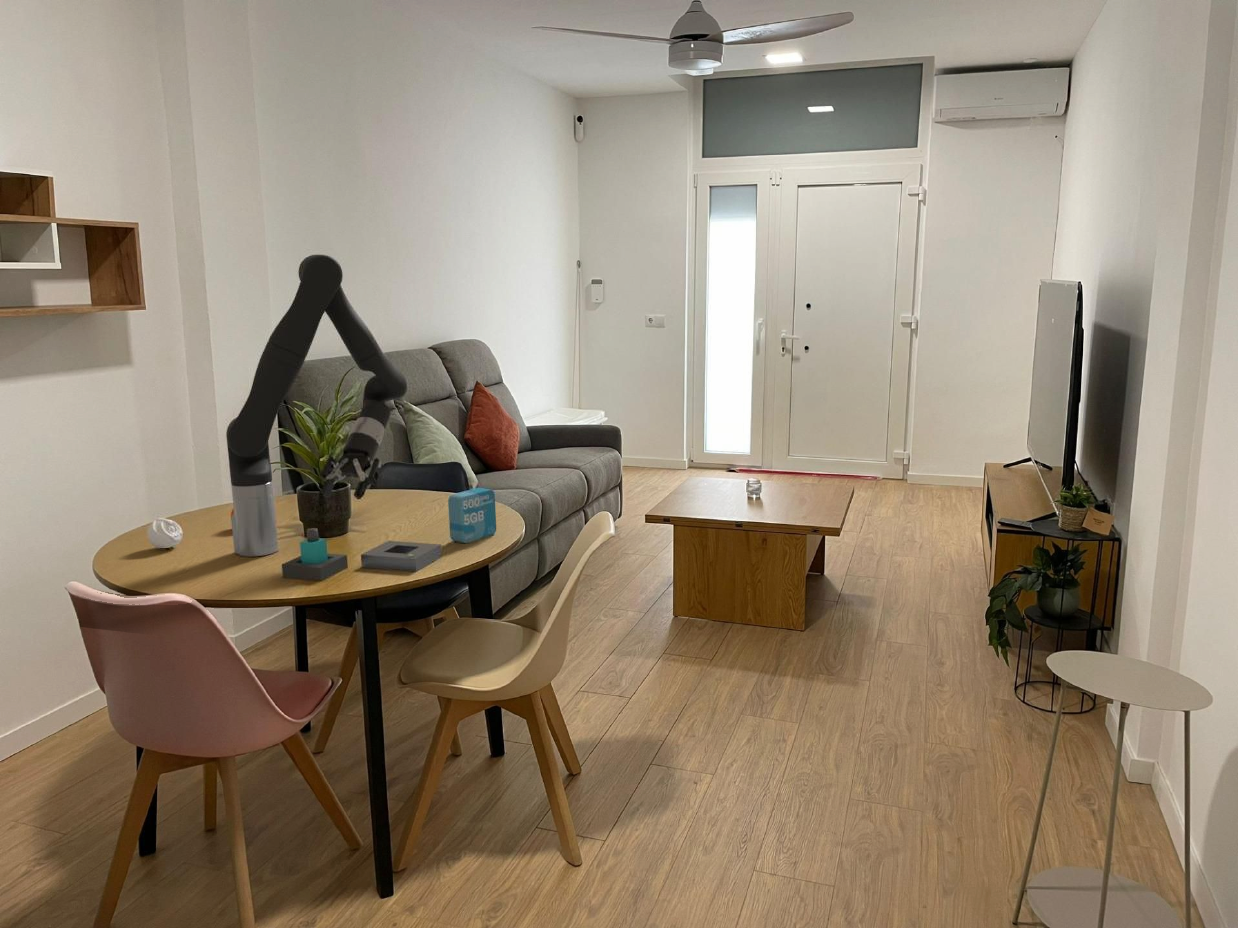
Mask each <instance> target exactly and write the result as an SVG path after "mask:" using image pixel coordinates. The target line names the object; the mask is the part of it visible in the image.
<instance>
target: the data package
mask: <svg viewBox="0 0 1238 928" xmlns="http://www.w3.org/2000/svg"><path fill="white" fill-rule="evenodd" d="M447 504H448V505H447V506H448V522H449V536H450V537H449V538H450V540H452V541H453V542H457V543H462V544H469V543H471V542H470V541H472V542H475V540H476V541H479V540H482V539H485V538H487V537H488V536H489V537H491V536H493V535H495V533H496V532H497V514H496V513H497V512H496V495H495V491H494V490H493V489H491V488H483V487H475V488H472V489H468V490H464V491H461V492H456V493H453V494H450V495H449V497H448V500H447ZM481 538H482V539H481ZM468 542H469V543H468Z"/></svg>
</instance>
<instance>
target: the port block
mask: <svg viewBox="0 0 1238 928" xmlns="http://www.w3.org/2000/svg"><path fill="white" fill-rule="evenodd" d="M441 556H443V555H442V544H441V543H440V544H438V543H427V542H412V541H401V540H400V541H397V540H387V541H386V542H383V543H382V544H379V545H378V546H374V547H373V548H372V549H369V550H367V551H365V552H363V553H361V554H360V561H361V568H367V569H378V570H392V571H405V572H414V573H415V572H418V571H420V570H422V569H423V568H425V567H427V566H429V565H430V564H432V563H434V562H435V561H437V560H439V559H440V558H442V557H441ZM438 558H439V559H438ZM433 561H434V562H433Z"/></svg>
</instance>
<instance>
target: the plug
mask: <svg viewBox="0 0 1238 928" xmlns="http://www.w3.org/2000/svg"><path fill="white" fill-rule="evenodd" d="M318 529H319V528H316V527H313V528H312V527H311V528H307V529H306V539H304V540H302V541H300V542H299V547H300V548H299V549H300V556H301V560H302V563H307V564H320V563H322V562H324V561H326V560H328V556H327V553H328V545H327V538H321V537H319V530H318Z"/></svg>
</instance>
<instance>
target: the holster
mask: <svg viewBox="0 0 1238 928" xmlns="http://www.w3.org/2000/svg"><path fill="white" fill-rule="evenodd" d="M327 556H328V560H326V561H324V562H322V563H320V564H307V563H302V560H301V555H300V556H297V557H295V558H292V559H290V560H288V561H286V562H284V563H282V564H281V572H282V578H284V579H285V577H286V579H295V578H300V579H299V580H306V579H308V581H317V580H320V582H322V581H324V580H326V579H329V578H330V577H332V576H334V575H336V574H339V572H342V571H344V570H346V569H348V554H339V553H337V554H336V553H329V552H327Z"/></svg>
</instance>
